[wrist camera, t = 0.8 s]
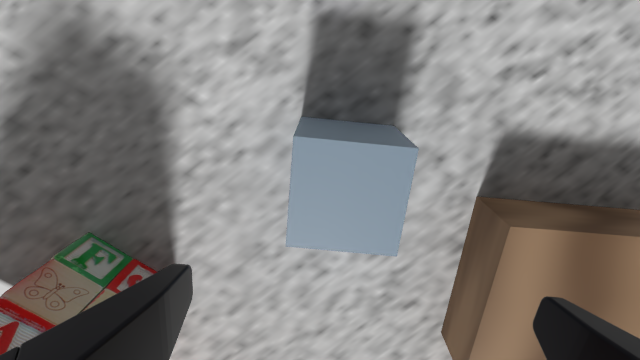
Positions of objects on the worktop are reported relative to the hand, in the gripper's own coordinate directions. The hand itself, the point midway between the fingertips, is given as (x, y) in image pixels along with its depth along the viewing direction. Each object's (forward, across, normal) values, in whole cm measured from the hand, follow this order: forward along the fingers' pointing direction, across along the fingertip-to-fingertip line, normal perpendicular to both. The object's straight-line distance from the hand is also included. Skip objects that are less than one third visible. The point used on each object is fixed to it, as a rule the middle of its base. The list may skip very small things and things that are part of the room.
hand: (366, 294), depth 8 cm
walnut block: (+11, -13, +6) cm, 18 cm away
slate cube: (+11, 0, 0) cm, 11 cm away
